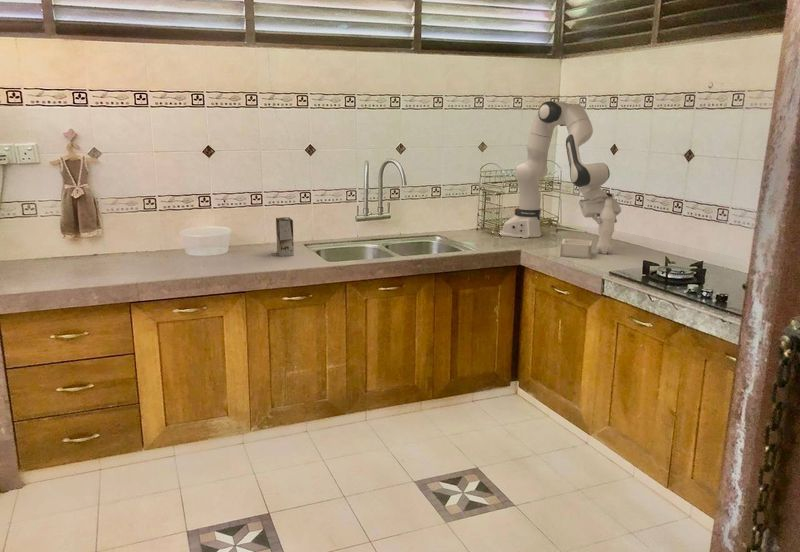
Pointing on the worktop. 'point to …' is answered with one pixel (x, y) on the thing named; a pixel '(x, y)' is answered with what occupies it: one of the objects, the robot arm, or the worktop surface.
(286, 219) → the coffee box
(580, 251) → the box
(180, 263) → the worktop surface
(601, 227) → the water bottle
